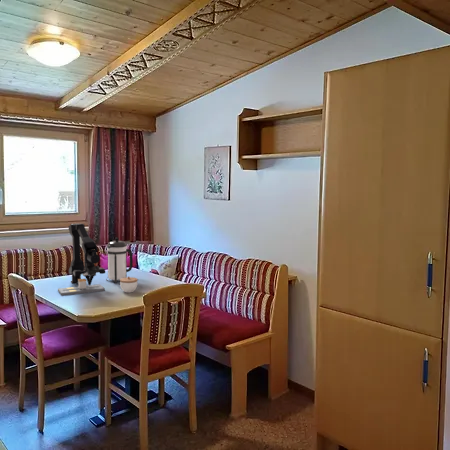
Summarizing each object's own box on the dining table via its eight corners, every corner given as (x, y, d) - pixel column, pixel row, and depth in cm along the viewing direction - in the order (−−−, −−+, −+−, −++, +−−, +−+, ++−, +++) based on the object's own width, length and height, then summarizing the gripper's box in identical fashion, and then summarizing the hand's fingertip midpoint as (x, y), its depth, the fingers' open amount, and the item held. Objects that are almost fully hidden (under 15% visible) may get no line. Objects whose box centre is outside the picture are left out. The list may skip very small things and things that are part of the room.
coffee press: (127, 283, 306) (126, 239, 303) (103, 282, 306) (102, 238, 303) (132, 277, 323) (132, 235, 320) (110, 277, 323) (110, 235, 320)
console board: (57, 290, 283) (57, 288, 283) (99, 286, 296) (99, 283, 296) (61, 295, 273) (61, 292, 273) (104, 290, 286) (104, 288, 286)
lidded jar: (141, 290, 287) (141, 276, 286) (129, 294, 278) (129, 279, 277) (128, 288, 293) (128, 274, 292) (116, 291, 284) (116, 277, 283)
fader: (78, 287, 286) (78, 279, 285) (85, 286, 288) (84, 278, 287) (79, 289, 282) (79, 280, 281) (86, 288, 284) (86, 279, 283)
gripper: (76, 264, 274) (77, 289, 275) (107, 261, 283) (107, 286, 285) (72, 261, 283) (73, 285, 285) (102, 258, 293) (103, 282, 294)
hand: (89, 285), depth 287 cm, fingers closed
